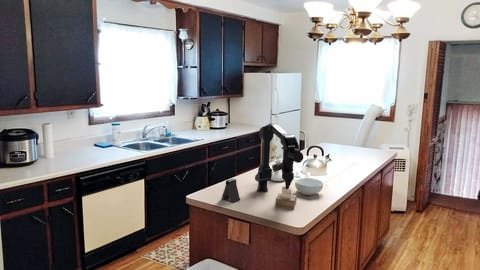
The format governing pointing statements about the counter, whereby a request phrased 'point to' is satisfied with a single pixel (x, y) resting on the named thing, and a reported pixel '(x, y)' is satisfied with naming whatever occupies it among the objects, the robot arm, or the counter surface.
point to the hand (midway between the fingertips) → (286, 186)
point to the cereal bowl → (308, 186)
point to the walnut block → (285, 201)
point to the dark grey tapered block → (231, 191)
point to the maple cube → (286, 192)
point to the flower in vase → (276, 175)
